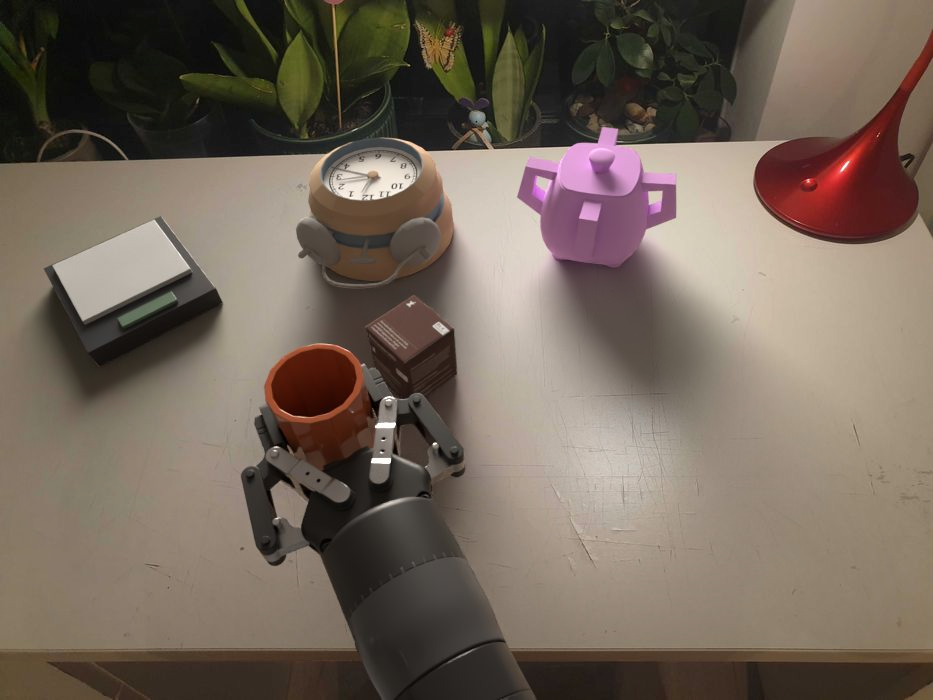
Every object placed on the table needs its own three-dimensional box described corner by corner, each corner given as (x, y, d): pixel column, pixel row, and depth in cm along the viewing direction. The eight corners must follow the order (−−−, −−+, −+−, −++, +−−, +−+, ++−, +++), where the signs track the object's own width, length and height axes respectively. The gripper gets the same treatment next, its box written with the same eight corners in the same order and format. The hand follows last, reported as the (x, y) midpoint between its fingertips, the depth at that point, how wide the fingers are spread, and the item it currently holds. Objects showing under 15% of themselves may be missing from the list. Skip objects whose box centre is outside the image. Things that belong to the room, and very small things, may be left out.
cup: (327, 513, 47) (293, 440, 40) (286, 453, 51) (247, 375, 43) (399, 464, 50) (381, 387, 42) (355, 410, 53) (331, 329, 45)
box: (374, 373, 66) (362, 325, 60) (421, 341, 69) (413, 292, 63) (412, 410, 63) (403, 363, 58) (459, 375, 66) (455, 327, 60)
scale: (99, 367, 68) (84, 349, 66) (54, 283, 77) (40, 264, 74) (223, 303, 73) (214, 284, 71) (168, 230, 82) (158, 211, 79)
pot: (532, 184, 84) (535, 99, 75) (672, 201, 81) (693, 115, 72) (500, 282, 73) (500, 198, 64) (660, 307, 70) (684, 221, 61)
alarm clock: (454, 122, 77) (437, 259, 63) (458, 187, 84) (444, 323, 70) (311, 123, 78) (263, 258, 64) (327, 187, 86) (287, 320, 71)
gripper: (524, 515, 36) (400, 318, 46) (273, 646, 32) (195, 402, 42) (521, 566, 42) (411, 382, 52) (307, 682, 38) (232, 461, 48)
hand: (314, 392), depth 47 cm, fingers closed on cup, 6 cm apart
